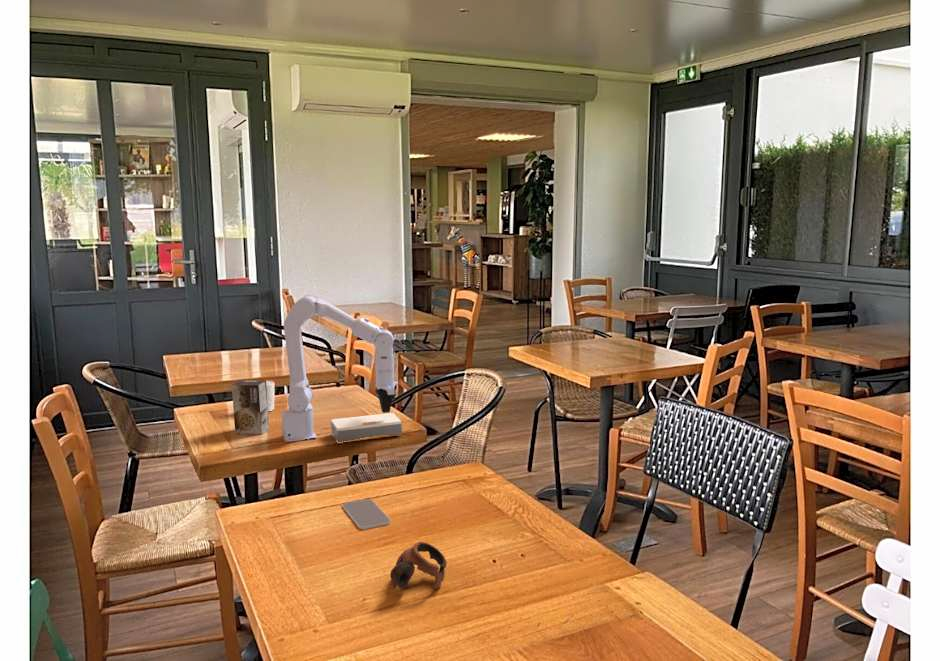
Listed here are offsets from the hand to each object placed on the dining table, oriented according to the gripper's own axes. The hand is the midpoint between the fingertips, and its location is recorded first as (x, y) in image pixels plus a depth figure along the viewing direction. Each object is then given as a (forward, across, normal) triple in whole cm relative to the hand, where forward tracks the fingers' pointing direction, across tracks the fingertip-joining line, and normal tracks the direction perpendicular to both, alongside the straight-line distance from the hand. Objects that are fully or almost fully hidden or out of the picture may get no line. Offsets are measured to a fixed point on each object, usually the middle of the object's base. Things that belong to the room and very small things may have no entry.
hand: (385, 412), depth 220 cm
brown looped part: (+8, -90, +19) cm, 92 cm away
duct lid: (+3, +2, +6) cm, 7 cm away
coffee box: (+8, +20, +39) cm, 44 cm away
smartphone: (+8, -56, +20) cm, 60 cm away
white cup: (+8, +43, +33) cm, 55 cm away
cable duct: (+7, +2, +6) cm, 10 cm away
